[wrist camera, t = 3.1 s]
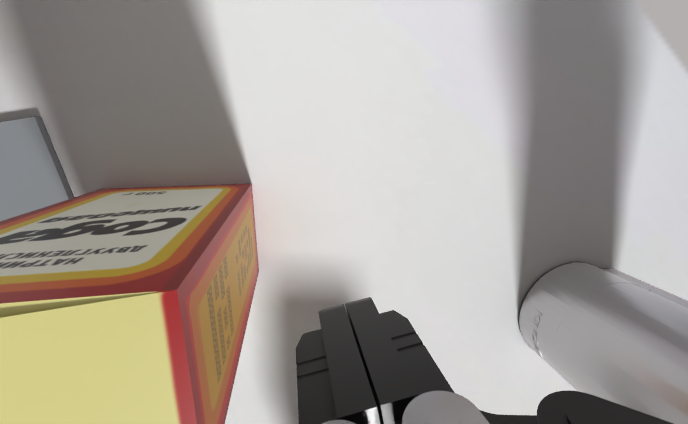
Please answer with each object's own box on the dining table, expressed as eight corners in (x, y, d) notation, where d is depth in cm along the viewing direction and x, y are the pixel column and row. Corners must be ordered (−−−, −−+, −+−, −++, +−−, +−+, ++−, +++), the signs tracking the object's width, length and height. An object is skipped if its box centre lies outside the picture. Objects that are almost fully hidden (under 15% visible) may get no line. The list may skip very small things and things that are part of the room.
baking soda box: (119, 281, 23) (-221, 584, 8) (100, 188, 21) (-374, 341, 6) (258, 271, 24) (204, 511, 9) (251, 183, 23) (171, 297, 8)
